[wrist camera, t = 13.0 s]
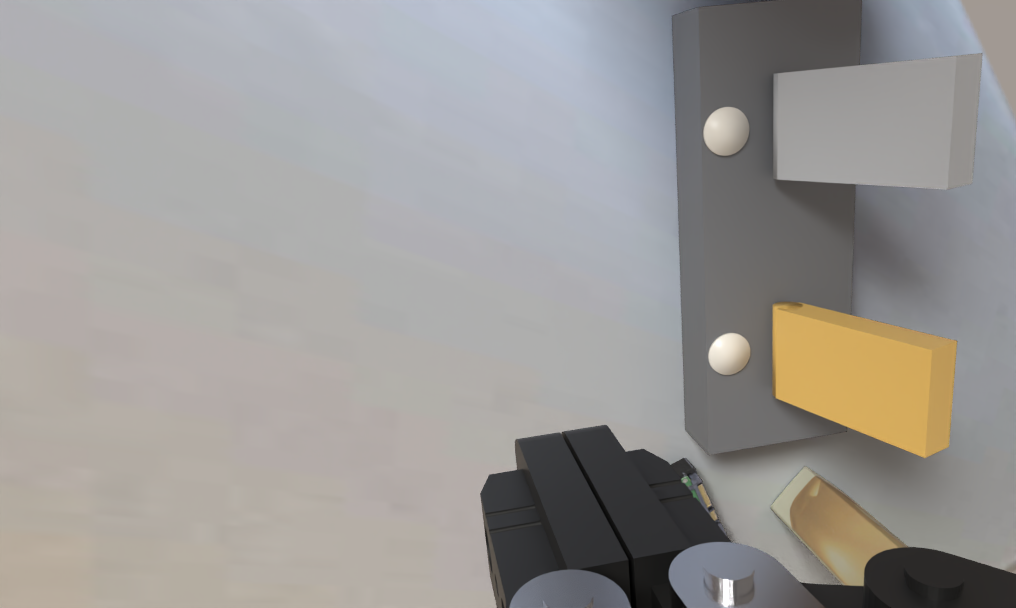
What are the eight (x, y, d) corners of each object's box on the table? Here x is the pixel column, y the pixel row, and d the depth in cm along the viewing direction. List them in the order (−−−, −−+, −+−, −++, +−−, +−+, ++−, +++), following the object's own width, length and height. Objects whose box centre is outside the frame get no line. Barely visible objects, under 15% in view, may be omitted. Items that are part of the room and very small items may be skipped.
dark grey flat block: (672, 15, 44) (699, 6, 40) (822, 2, 46) (864, -8, 42) (685, 429, 52) (709, 456, 48) (814, 408, 53) (848, 432, 49)
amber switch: (765, 306, 46) (932, 350, 36) (787, 299, 46) (957, 341, 37) (765, 393, 47) (924, 458, 38) (787, 386, 48) (948, 446, 39)
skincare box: (857, 502, 56) (980, 604, 45) (821, 544, 57) (933, 656, 45) (801, 461, 54) (914, 557, 43) (765, 505, 55) (866, 612, 43)
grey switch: (765, 74, 42) (956, 56, 32) (789, 72, 43) (982, 53, 33) (765, 178, 43) (947, 189, 34) (788, 174, 44) (972, 183, 35)
